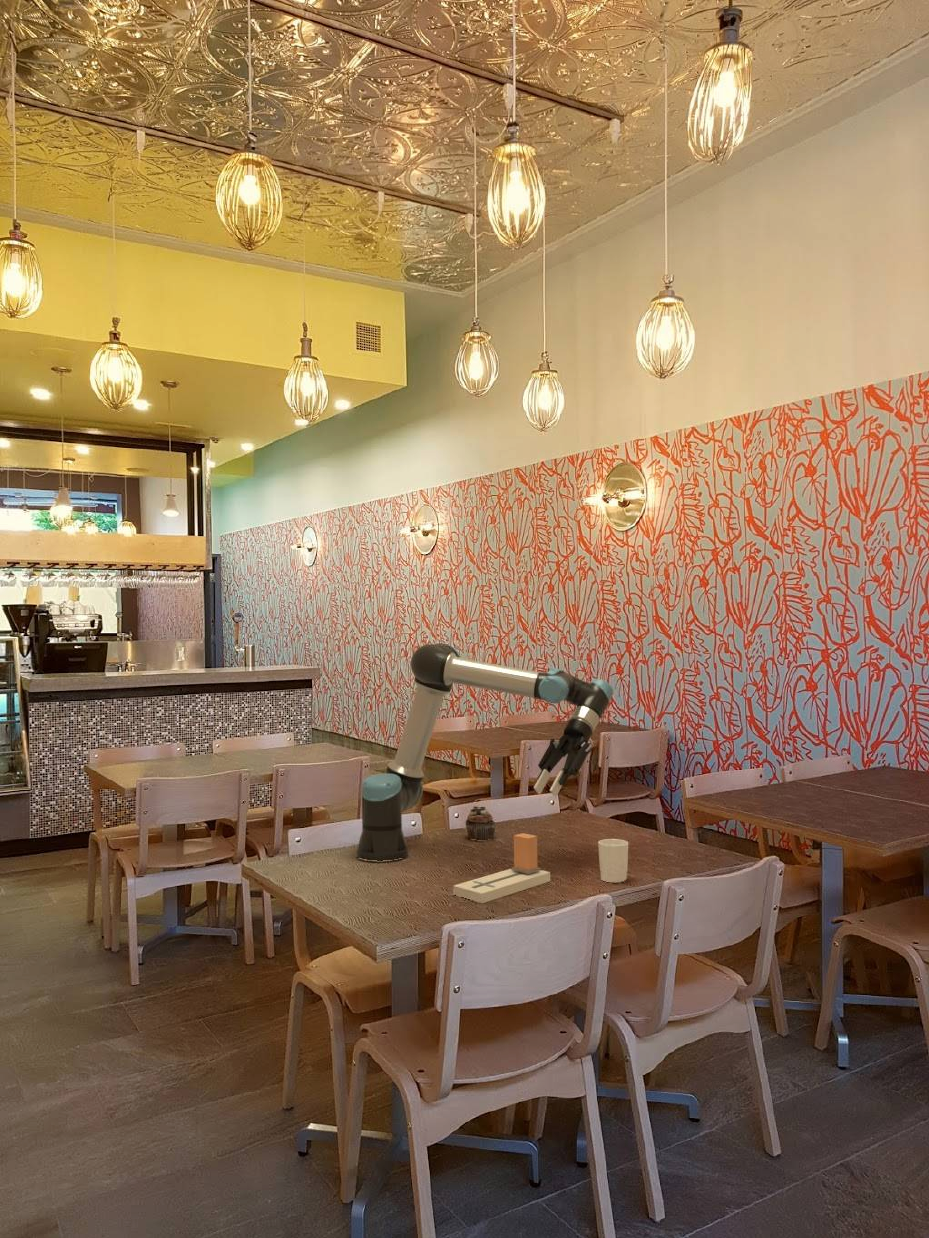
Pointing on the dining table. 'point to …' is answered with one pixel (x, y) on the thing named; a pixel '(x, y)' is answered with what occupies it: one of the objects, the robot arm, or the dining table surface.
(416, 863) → the dining table surface
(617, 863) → the white cup
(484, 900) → the fader console
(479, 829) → the cupcake
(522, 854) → the fader knob
